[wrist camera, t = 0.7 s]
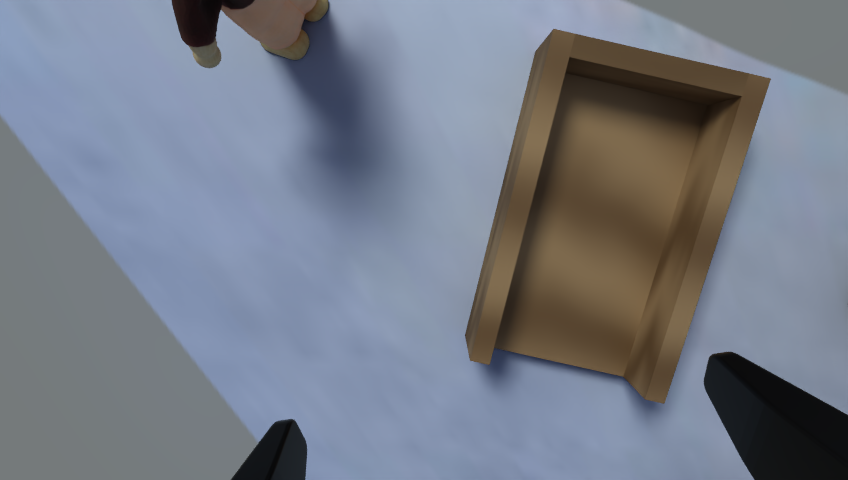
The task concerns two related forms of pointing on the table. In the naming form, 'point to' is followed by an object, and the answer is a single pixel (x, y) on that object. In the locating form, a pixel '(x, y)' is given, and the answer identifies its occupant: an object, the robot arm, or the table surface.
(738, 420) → the robot arm
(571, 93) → the open-ended wooden tray
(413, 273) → the table surface
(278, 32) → the grandmother figurine
